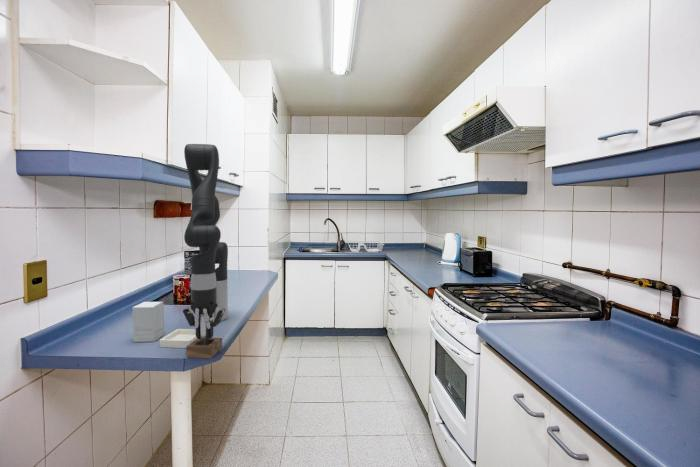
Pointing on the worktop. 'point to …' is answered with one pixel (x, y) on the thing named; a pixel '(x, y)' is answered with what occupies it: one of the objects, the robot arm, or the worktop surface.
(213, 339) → the bore block
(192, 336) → the tray
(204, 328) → the cylinder
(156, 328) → the supplement box
